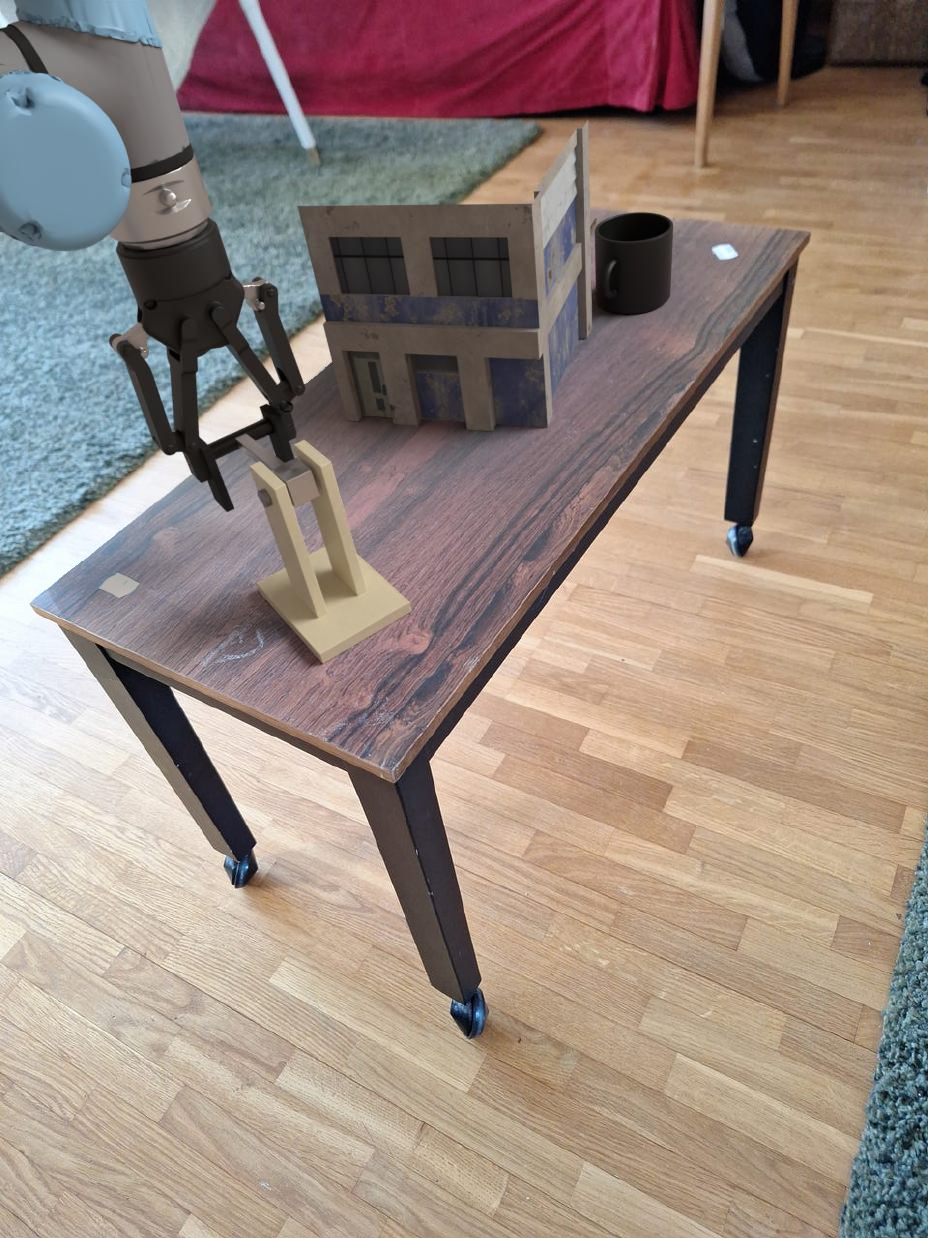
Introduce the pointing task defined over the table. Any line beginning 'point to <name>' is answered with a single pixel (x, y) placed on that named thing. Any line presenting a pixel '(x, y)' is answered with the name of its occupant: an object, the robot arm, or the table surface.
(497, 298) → the building
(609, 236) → the mug
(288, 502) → the bracket
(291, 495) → the lever
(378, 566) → the table surface
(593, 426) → the table surface
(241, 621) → the table surface
